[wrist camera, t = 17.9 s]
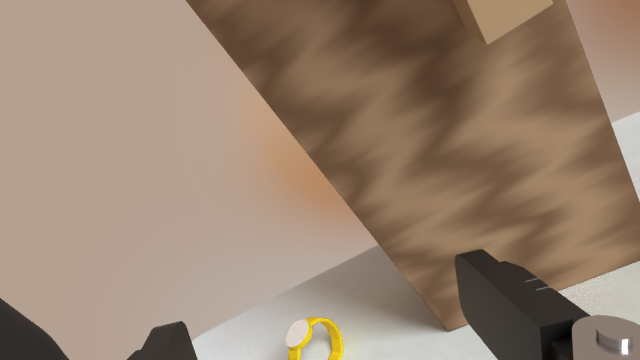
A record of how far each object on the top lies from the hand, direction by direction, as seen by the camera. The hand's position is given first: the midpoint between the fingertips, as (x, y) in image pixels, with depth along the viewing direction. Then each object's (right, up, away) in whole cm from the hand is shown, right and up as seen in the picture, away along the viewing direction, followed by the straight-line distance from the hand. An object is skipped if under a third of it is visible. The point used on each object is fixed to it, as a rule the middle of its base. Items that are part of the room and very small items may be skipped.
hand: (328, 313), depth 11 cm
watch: (+1, -15, +26) cm, 29 cm away
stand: (+17, -3, +21) cm, 28 cm away
